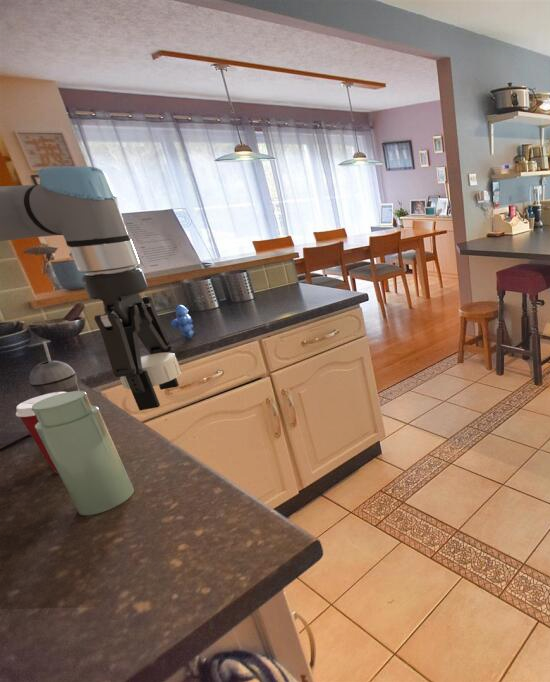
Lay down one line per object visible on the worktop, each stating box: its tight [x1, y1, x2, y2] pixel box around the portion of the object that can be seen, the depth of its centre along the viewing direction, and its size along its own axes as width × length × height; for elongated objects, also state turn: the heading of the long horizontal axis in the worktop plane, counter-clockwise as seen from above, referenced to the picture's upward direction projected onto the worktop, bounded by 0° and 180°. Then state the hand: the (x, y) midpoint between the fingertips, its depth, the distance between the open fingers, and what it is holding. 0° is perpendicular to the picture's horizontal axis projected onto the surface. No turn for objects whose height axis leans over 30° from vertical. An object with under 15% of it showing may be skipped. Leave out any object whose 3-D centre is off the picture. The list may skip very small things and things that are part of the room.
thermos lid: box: [118, 352, 182, 390], centre depth 76 cm, size 8×8×4 cm
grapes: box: [169, 304, 195, 340], centre depth 157 cm, size 12×7×12 cm, turn 32°
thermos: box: [31, 390, 135, 516], centre depth 70 cm, size 7×7×19 cm
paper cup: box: [15, 392, 66, 474], centre depth 82 cm, size 8×8×14 cm
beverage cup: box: [29, 340, 80, 396], centre depth 96 cm, size 7×7×20 cm
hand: (160, 397), depth 77 cm, fingers closed on thermos lid, 8 cm apart
